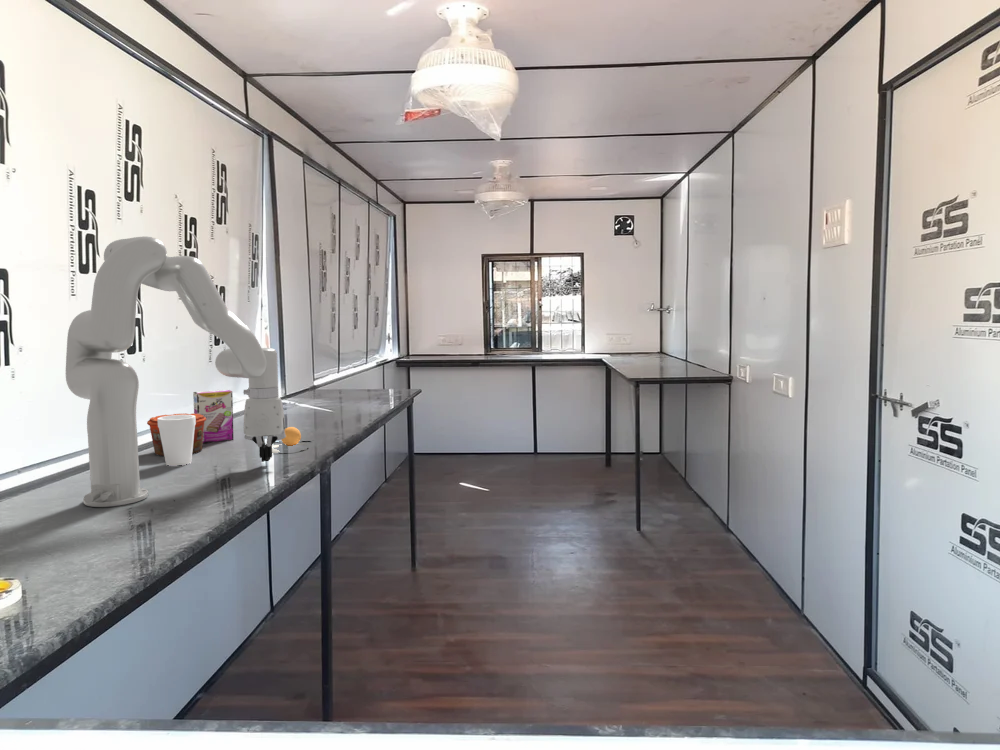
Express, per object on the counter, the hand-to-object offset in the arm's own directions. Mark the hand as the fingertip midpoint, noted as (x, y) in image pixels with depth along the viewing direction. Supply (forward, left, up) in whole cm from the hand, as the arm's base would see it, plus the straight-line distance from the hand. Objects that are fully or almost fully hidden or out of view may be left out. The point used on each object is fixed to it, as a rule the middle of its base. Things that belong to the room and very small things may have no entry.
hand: (266, 460), depth 183 cm
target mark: (+22, 0, -2) cm, 22 cm away
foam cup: (+5, +25, -2) cm, 25 cm away
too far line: (+34, 0, -2) cm, 34 cm away
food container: (+21, +31, -2) cm, 37 cm away
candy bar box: (+38, +26, -2) cm, 46 cm away
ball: (+27, -1, +1) cm, 27 cm away
